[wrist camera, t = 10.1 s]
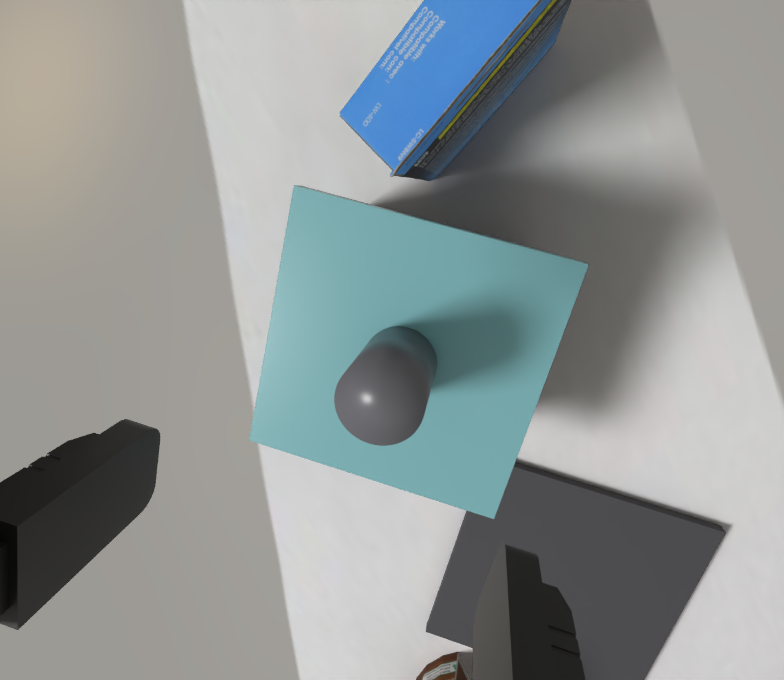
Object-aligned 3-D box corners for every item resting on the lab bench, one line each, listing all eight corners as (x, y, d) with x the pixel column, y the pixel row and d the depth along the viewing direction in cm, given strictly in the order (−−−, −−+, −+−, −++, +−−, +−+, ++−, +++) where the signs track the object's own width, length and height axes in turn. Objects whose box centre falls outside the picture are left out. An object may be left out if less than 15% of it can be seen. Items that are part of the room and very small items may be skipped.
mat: (486, 453, 31) (486, 458, 30) (721, 526, 29) (725, 532, 29) (426, 624, 35) (425, 631, 34) (628, 694, 34) (630, 703, 33)
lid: (300, 185, 21) (243, 183, 16) (584, 261, 20) (618, 284, 15) (256, 432, 25) (198, 493, 20) (493, 508, 24) (495, 593, 19)
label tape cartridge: (500, -18, 24) (513, -220, 12) (558, 41, 24) (627, -102, 12) (378, 135, 27) (295, 90, 15) (432, 186, 27) (391, 181, 15)
